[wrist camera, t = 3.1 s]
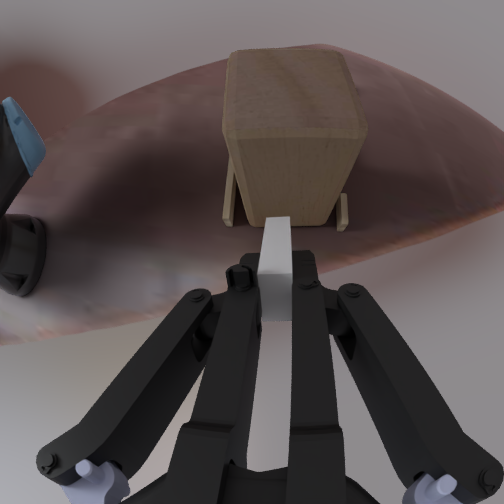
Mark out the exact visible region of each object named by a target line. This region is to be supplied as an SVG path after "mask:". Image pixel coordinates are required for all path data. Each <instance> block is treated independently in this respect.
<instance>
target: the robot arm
mask: <svg viewBox="0 0 504 504" xmlns="http://www.w3.org/2000/svg"><path fill="white" fill-rule="evenodd" d="M45 153H46V148H45V145H44V142H43V141H42V139H41V137H40V135H39V134H38V132H37V131H36V129H35V128H34V126H33V125H32V123H31V122H30V120H29V119H28V117H27V116H26V115H25V113H24V112H23V111H22V109H21V108H20V106H19V105H18V104H17V103H16V101H14V100H13V99H12V98H11V97H8V98H7V99H6V100H3V102H2V104H0V288H1V289H2V290H4V291H5V292H7V293H9V294H11V295H16V296H24V295H26V294H28V293H29V292H30V291H31V290H32V289H33V287H34V286H35V285H36V283H37V281H38V279H39V277H40V274H41V271H42V268H43V265H44V260H45V253H46V237H45V232H44V228H43V226H42V224H41V223H40V221H39V220H37V219H36V218H34V217H32V216H30V215H26V214H5V213H6V211H7V209H8V208H9V206H10V205H11V203H12V202H13V200H14V199H15V197H16V196H17V194H18V193H19V192H20V190H21V189H22V187H23V186H24V185H25V183H26V182H27V180H28V179H29V178H30V177H32V176H33V173H34V171H35V170H36V168H37V167H38V166H39V164H40V163H41V162H42V160H43V159H44V157H45ZM226 278H227V284H228V290H227V291H226V292H224V293H220V294H216V295H212V296H211V292H210V291H208V290H206V289H194V290H191V291H189V292H188V293H186V294H185V295H184V296H183V298H182V299H181V300H180V301H179V302H178V303H177V305H176V306H175V307H174V308H173V309H172V310H171V312H170V313H169V314H168V315H167V316H166V317H165V319H164V320H163V321H162V322H161V323H160V325H159V326H158V327H157V328H156V329H155V331H154V332H153V333H152V334H151V335H150V337H149V338H148V339H147V340H146V341H145V342H144V344H143V345H142V346H141V347H140V348H139V350H138V351H137V352H136V353H135V354H134V356H133V357H132V358H131V359H130V361H129V362H128V363H127V364H126V366H125V367H124V368H123V369H122V370H121V371H120V373H119V374H118V375H117V377H116V378H115V379H114V380H113V381H112V383H111V384H110V385H109V386H108V387H107V389H106V390H105V391H104V393H103V394H102V395H101V396H100V397H99V399H98V400H97V401H96V403H95V404H94V405H93V407H91V409H90V410H89V411H88V413H87V414H86V415H85V416H84V418H83V419H82V420H81V422H80V423H79V424H77V425H76V426H75V427H73V428H72V429H70V430H68V431H67V432H65V433H64V434H63V435H61V436H60V437H58V438H56V439H55V440H53V441H52V442H50V443H49V444H47V445H45V446H44V447H43V448H42V449H41V450H40V451H39V452H38V455H37V459H36V464H37V468H38V470H39V471H40V473H41V474H42V475H44V476H45V477H47V478H49V479H50V480H52V481H54V482H56V483H57V484H59V485H60V486H61V487H62V489H63V490H64V492H65V494H66V496H67V497H68V499H69V501H70V502H71V504H380V503H379V502H378V501H376V500H375V499H374V498H373V497H372V496H371V495H370V494H369V493H368V492H367V491H366V490H365V489H363V488H362V487H361V486H360V485H359V484H358V483H357V482H355V481H354V480H353V479H351V478H349V477H347V476H346V475H345V457H344V439H343V432H342V428H341V427H340V426H339V422H338V411H337V399H336V389H335V380H334V370H333V362H332V354H331V346H330V339H329V334H331V335H333V337H334V340H335V342H336V344H337V346H338V348H339V350H340V352H341V354H342V356H343V358H344V360H345V362H346V364H347V366H348V368H349V371H350V372H351V375H352V377H353V379H354V381H355V383H356V385H357V387H358V389H359V391H360V394H361V396H362V398H363V400H364V402H365V404H366V406H367V409H368V411H369V413H370V415H371V418H372V420H373V422H374V424H375V426H376V429H377V431H378V433H379V435H380V438H381V440H382V442H383V444H384V447H385V449H386V451H387V454H388V456H389V458H390V461H391V463H392V465H393V467H394V469H395V471H396V473H397V475H398V477H399V479H400V480H401V482H402V483H403V485H404V486H405V487H406V488H407V490H406V492H405V494H404V496H403V500H402V504H476V503H478V502H480V501H482V500H484V499H487V498H488V497H490V496H492V495H494V494H495V493H496V492H497V490H498V489H499V488H500V486H501V484H502V482H503V476H504V471H503V467H502V465H501V464H500V463H499V461H498V460H496V459H495V458H494V457H493V456H492V455H490V454H489V453H488V452H487V451H486V450H484V449H483V448H482V447H481V446H479V445H478V444H477V443H476V442H474V441H473V440H472V439H471V438H470V437H469V436H467V435H466V434H465V433H464V432H463V431H462V429H461V427H460V425H459V424H458V422H457V420H456V419H455V417H454V415H453V414H452V412H451V411H450V409H449V407H448V405H447V404H446V402H445V401H444V399H443V397H442V396H441V394H440V393H439V391H438V390H437V388H436V386H435V385H434V383H433V382H432V380H431V379H430V377H429V376H428V374H427V372H426V371H425V370H424V368H423V366H422V365H421V364H420V362H419V361H418V359H417V358H416V356H415V355H414V353H413V352H412V350H411V349H410V348H409V346H408V345H407V343H406V342H405V340H404V339H403V338H402V336H401V335H400V333H399V332H398V331H397V329H396V328H395V327H394V325H393V324H392V322H391V321H390V320H389V319H388V317H387V316H386V314H385V313H384V312H383V310H382V309H381V308H380V306H379V305H378V304H377V302H376V301H375V300H374V299H373V297H372V296H371V295H370V294H369V292H368V291H367V290H366V289H365V288H364V287H363V286H361V285H359V284H354V283H349V284H344V285H342V286H341V287H340V288H339V289H338V291H336V290H330V289H327V288H325V287H323V286H322V285H321V283H320V281H319V280H318V274H317V268H316V263H315V257H314V254H313V253H312V252H311V251H310V250H303V251H291V229H290V216H289V217H269V218H266V223H265V229H264V235H263V241H262V248H261V253H246V254H245V255H244V256H243V257H242V258H241V259H240V263H239V264H236V265H234V266H231V267H230V268H228V269H227V270H226ZM261 317H262V321H292V384H291V385H292V386H291V419H290V437H289V457H288V467H284V468H279V469H274V470H269V471H263V472H255V471H252V470H248V469H247V447H248V440H249V431H250V424H251V416H252V409H253V401H254V392H255V384H256V375H257V367H258V359H259V350H260V341H261V332H262V326H261ZM205 365H206V366H205ZM204 367H205V369H204ZM203 369H204V373H203V376H202V380H201V383H200V387H199V390H198V394H197V398H196V401H195V405H194V408H193V412H192V416H191V419H190V421H189V422H187V423H184V424H183V425H182V426H181V428H180V431H179V434H178V437H177V440H176V444H175V447H174V451H173V454H172V458H171V461H170V465H169V468H168V472H167V473H165V474H164V475H162V476H161V477H159V478H158V479H156V480H155V481H153V482H152V483H150V484H149V485H147V486H146V487H144V488H143V489H141V490H140V491H138V492H137V493H135V494H134V495H132V496H130V497H129V498H127V499H126V500H124V501H122V502H121V500H122V499H123V497H126V496H128V495H129V493H130V488H129V484H128V480H129V479H130V478H131V477H132V476H133V475H134V474H135V473H136V472H137V471H138V470H139V469H140V468H141V467H142V465H143V464H144V462H145V461H146V460H147V458H148V457H149V455H150V453H151V452H152V451H153V449H154V447H155V446H156V444H157V443H158V441H159V440H160V438H161V436H162V435H163V433H164V432H165V430H166V428H167V427H168V425H169V424H170V422H171V420H172V419H173V417H174V416H175V414H176V412H177V411H178V409H179V408H180V406H181V404H182V403H183V401H184V400H185V398H186V396H187V394H188V393H189V392H190V390H191V388H192V387H193V385H194V383H195V382H196V380H197V378H198V377H199V375H200V374H201V371H202V370H203Z"/></svg>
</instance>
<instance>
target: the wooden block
mask: <svg viewBox="0 0 504 504" xmlns="http://www.w3.org/2000/svg"><path fill="white" fill-rule="evenodd" d="M222 131H223V134H224V138H225V141H226V145H227V148H228V152H229V155H230V159H231V162H232V166H233V169H234V173H235V176H236V180H237V183H238V187H239V191H240V194H241V198H242V201H243V205H244V208H245V212H246V215H247V219H248V221H249V224H250V225H251V226H254V227H265V223H266V218H269V217H289V216H290V226H320V225H323V224H325V223H326V221H327V219H328V217H329V215H330V213H331V211H332V209H333V207H334V205H335V203H336V201H337V199H338V197H339V195H340V193H341V191H342V189H343V187H344V185H345V182H346V180H347V178H348V176H349V174H350V172H351V170H352V168H353V165H354V163H355V161H356V159H357V157H358V154H359V152H360V150H361V148H362V146H363V143H364V141H365V139H366V136H367V132H368V125H367V121H366V118H365V114H364V111H363V108H362V105H361V102H360V99H359V96H358V93H357V90H356V88H355V85H354V82H353V79H352V77H351V74H350V72H349V69H348V67H347V64H346V62H345V59H344V57H343V55H342V54H341V53H340V52H337V51H334V50H325V49H306V48H270V49H249V50H238V51H235V52H233V53H231V54H230V56H229V59H228V62H227V72H226V83H225V95H224V108H223V122H222Z"/></svg>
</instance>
